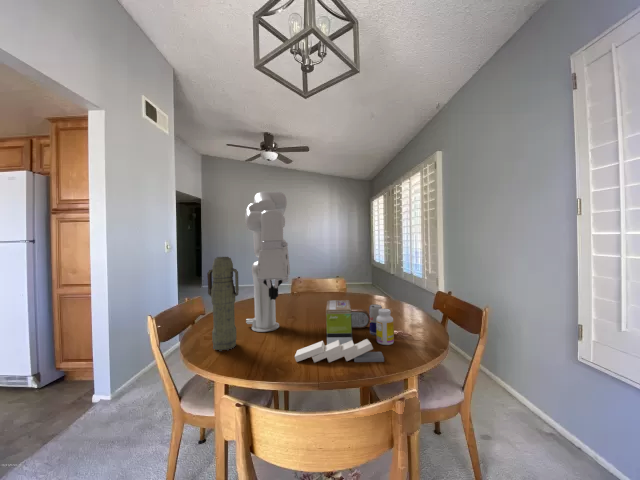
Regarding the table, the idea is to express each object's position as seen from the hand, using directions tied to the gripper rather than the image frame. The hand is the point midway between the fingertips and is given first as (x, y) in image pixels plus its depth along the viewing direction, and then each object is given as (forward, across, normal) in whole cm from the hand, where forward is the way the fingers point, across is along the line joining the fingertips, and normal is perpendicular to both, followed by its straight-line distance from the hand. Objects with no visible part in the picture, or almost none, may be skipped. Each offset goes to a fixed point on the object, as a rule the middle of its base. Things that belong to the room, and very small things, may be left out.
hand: (273, 298), depth 98 cm
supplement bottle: (+21, -41, -15) cm, 49 cm away
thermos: (+21, +22, -11) cm, 33 cm away
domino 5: (+21, -27, 0) cm, 34 cm away
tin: (+21, -30, -33) cm, 49 cm away
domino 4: (+20, -24, 0) cm, 31 cm away
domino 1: (+20, -8, 0) cm, 22 cm away
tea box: (+21, -23, -18) cm, 36 cm away
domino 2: (+20, -14, 0) cm, 24 cm away
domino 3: (+20, -18, 0) cm, 27 cm away
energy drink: (+21, -39, -25) cm, 51 cm away
